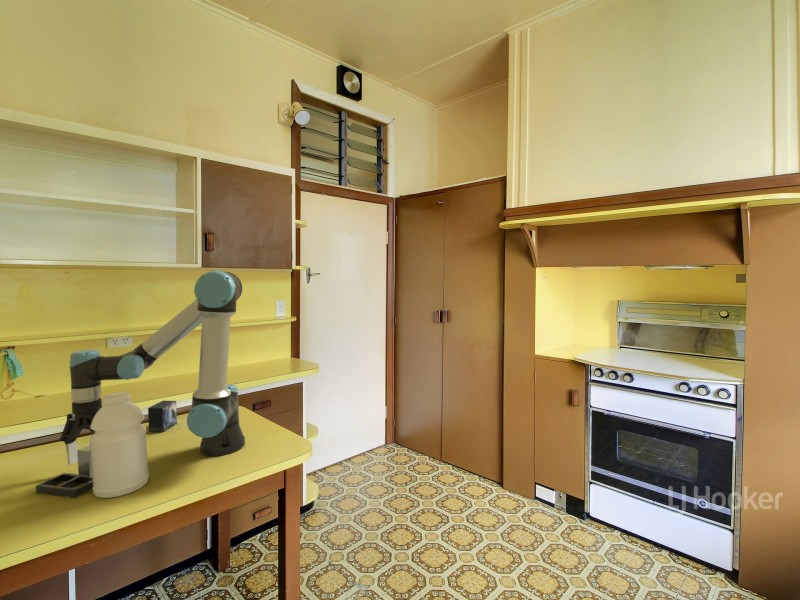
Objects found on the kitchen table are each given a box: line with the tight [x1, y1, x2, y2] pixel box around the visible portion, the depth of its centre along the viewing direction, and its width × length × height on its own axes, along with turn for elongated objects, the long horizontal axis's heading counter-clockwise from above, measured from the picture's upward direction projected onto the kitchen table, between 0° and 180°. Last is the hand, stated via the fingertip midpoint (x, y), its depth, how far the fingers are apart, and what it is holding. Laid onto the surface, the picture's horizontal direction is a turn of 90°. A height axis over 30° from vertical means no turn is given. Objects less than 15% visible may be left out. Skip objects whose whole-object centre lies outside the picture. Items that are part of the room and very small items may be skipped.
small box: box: [147, 400, 178, 434], centre depth 170 cm, size 11×6×10 cm, turn 179°
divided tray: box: [35, 472, 93, 499], centre depth 121 cm, size 14×8×2 cm, turn 77°
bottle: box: [89, 391, 150, 499], centre depth 120 cm, size 14×14×28 cm
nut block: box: [77, 444, 92, 476], centre depth 128 cm, size 4×4×9 cm
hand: (89, 465), depth 128 cm, fingers open, 13 cm apart
